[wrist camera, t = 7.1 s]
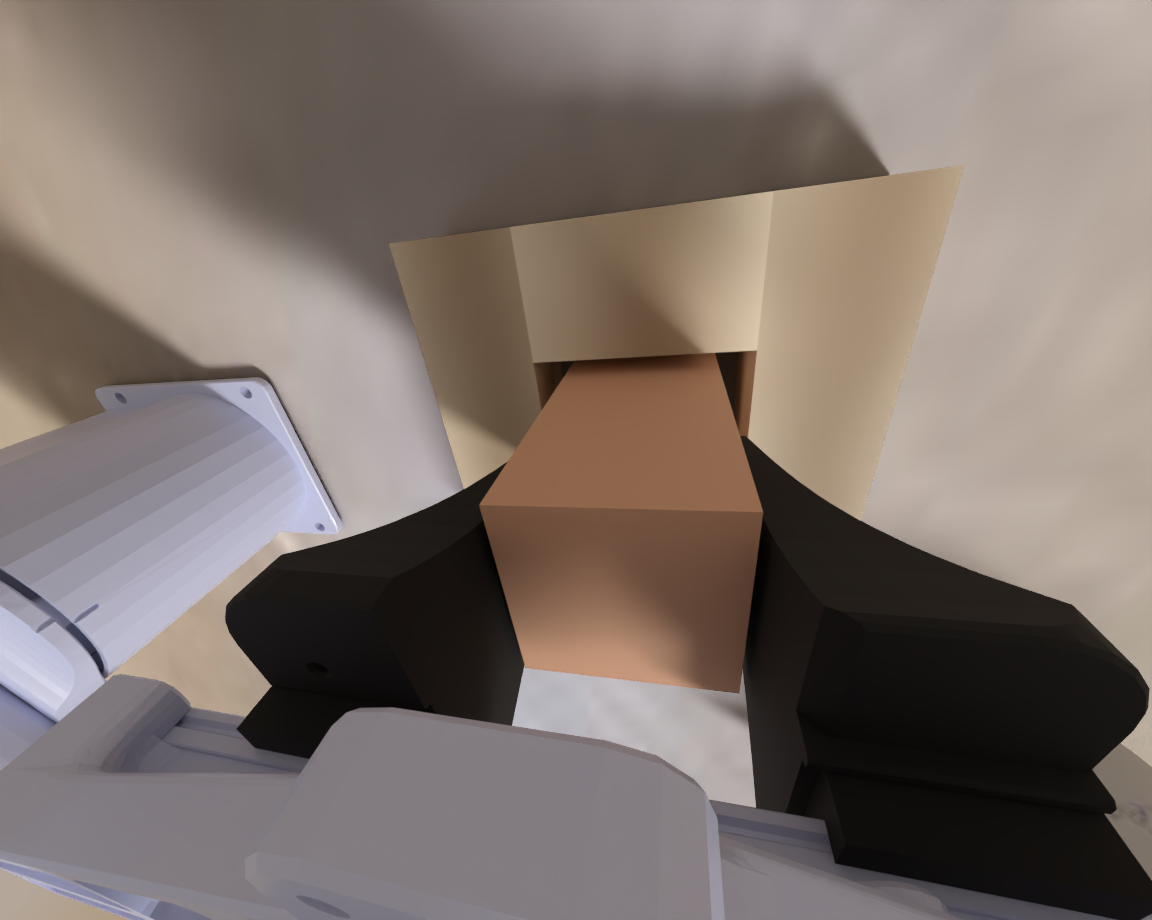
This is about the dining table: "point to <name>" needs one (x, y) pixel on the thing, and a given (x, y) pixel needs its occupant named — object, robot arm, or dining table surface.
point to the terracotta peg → (631, 526)
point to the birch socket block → (693, 315)
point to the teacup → (1130, 800)
